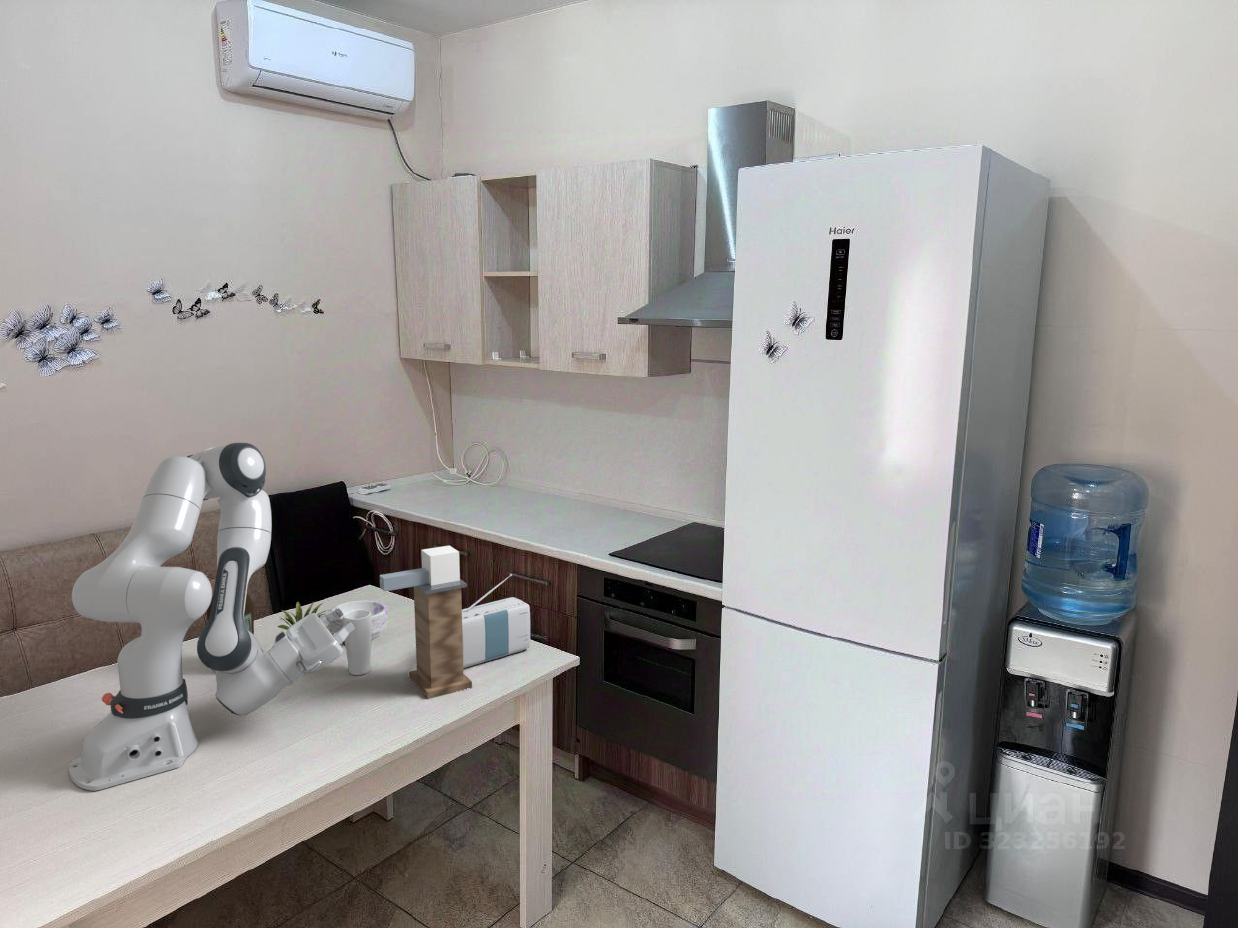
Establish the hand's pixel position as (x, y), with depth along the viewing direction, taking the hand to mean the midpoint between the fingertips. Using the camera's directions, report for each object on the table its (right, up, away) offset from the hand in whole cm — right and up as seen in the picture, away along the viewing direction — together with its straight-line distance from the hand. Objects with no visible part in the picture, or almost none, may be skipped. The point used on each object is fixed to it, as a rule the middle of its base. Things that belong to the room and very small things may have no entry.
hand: (346, 617), depth 188 cm
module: (+14, +6, +8) cm, 18 cm away
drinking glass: (-4, -17, +21) cm, 28 cm away
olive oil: (-35, -17, +23) cm, 45 cm away
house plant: (-19, -17, +24) cm, 34 cm away
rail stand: (+18, -19, +15) cm, 30 cm away
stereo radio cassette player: (+27, -16, +31) cm, 44 cm away
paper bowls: (-10, -13, +43) cm, 46 cm away
